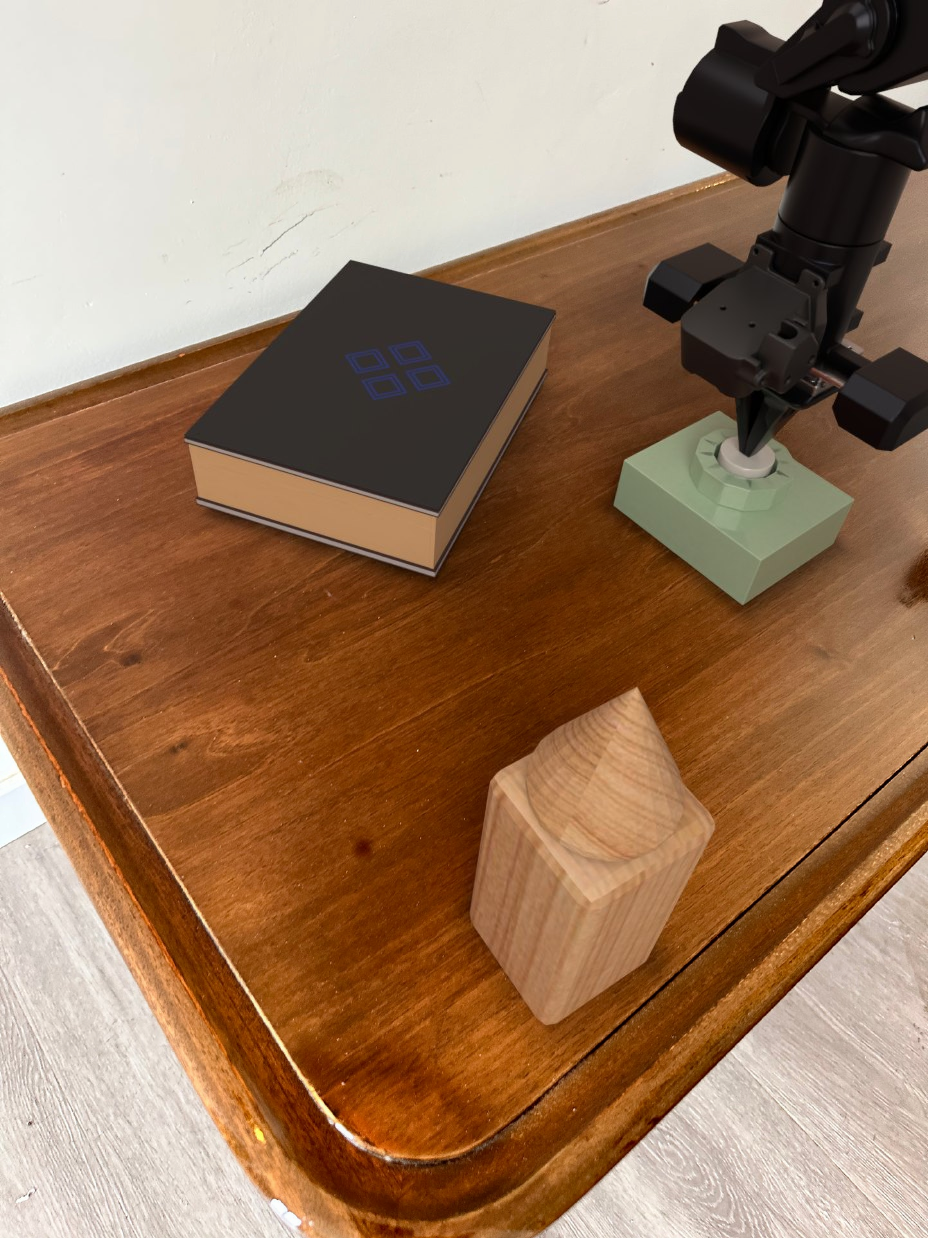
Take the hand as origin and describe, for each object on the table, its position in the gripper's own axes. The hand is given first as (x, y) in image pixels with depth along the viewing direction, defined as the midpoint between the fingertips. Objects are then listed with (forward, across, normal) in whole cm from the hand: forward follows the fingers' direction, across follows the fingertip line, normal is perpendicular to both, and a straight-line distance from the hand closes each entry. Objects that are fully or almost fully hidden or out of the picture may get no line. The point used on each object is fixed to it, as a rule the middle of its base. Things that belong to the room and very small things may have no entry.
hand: (748, 452), depth 62 cm
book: (+7, -21, -14) cm, 26 cm away
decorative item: (+7, +15, -30) cm, 34 cm away
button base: (+6, 0, 0) cm, 6 cm away
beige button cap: (+2, 0, 0) cm, 2 cm away
